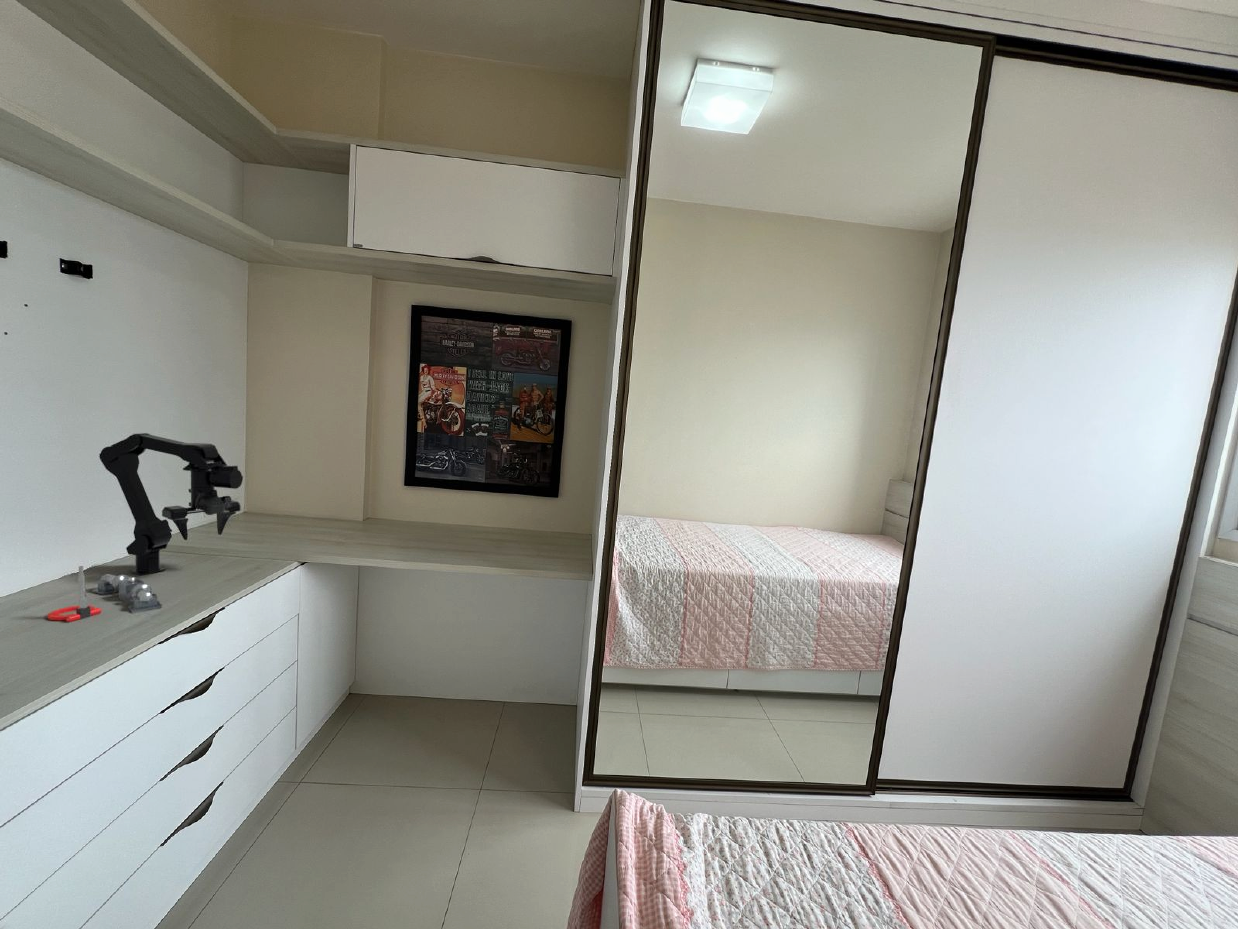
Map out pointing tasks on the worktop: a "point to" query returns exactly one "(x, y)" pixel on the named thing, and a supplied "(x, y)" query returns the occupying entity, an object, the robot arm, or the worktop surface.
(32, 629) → the worktop surface
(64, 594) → the worktop surface
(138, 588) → the shaft right
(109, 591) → the shaft left
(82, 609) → the tow hook
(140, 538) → the robot arm
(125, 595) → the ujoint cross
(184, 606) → the worktop surface
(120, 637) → the worktop surface
